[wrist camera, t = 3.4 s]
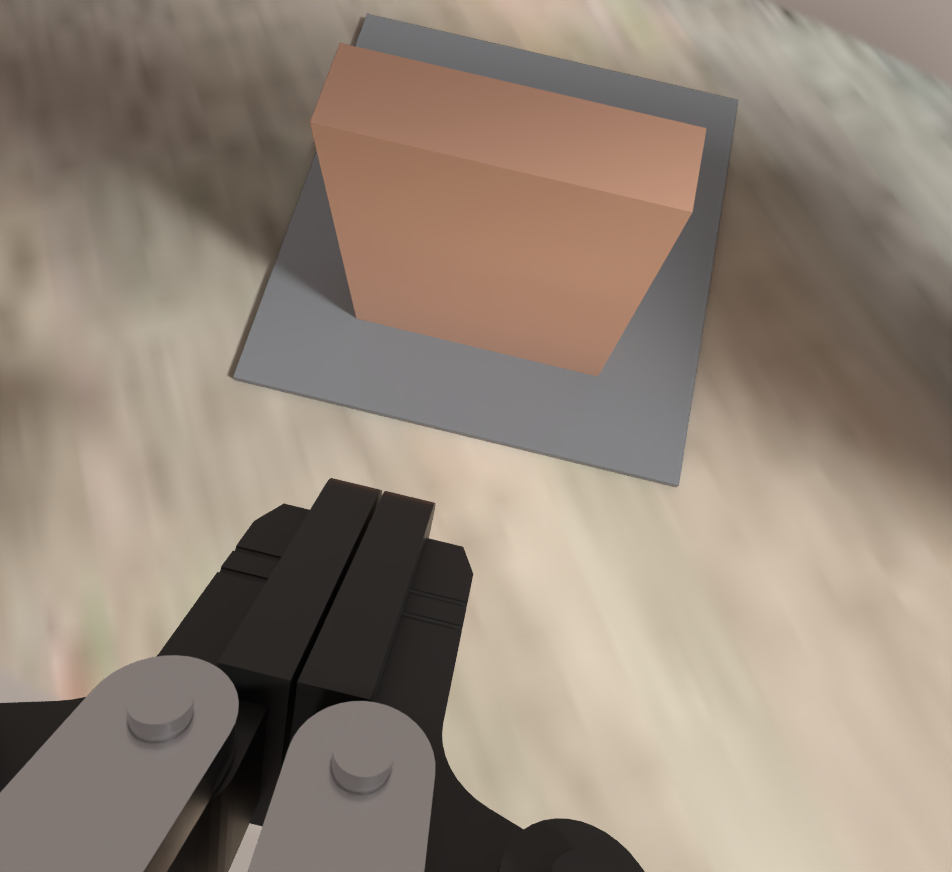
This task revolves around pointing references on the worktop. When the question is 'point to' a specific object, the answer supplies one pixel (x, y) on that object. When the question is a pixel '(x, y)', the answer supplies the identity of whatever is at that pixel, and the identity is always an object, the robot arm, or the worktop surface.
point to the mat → (486, 372)
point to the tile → (498, 206)
